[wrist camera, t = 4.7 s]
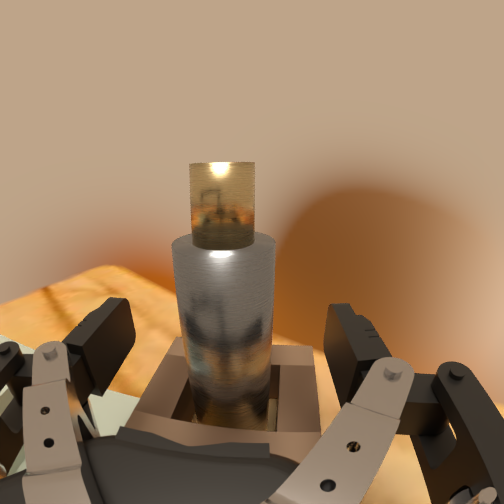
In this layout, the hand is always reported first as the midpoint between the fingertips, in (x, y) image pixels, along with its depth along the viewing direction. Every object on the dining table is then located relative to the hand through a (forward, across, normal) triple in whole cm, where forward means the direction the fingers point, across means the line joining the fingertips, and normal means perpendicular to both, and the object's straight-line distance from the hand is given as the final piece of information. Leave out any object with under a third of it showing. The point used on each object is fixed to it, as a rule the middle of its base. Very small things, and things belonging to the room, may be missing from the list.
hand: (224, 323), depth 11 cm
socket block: (+1, 0, +8) cm, 8 cm away
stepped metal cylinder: (+1, 0, +8) cm, 8 cm away
